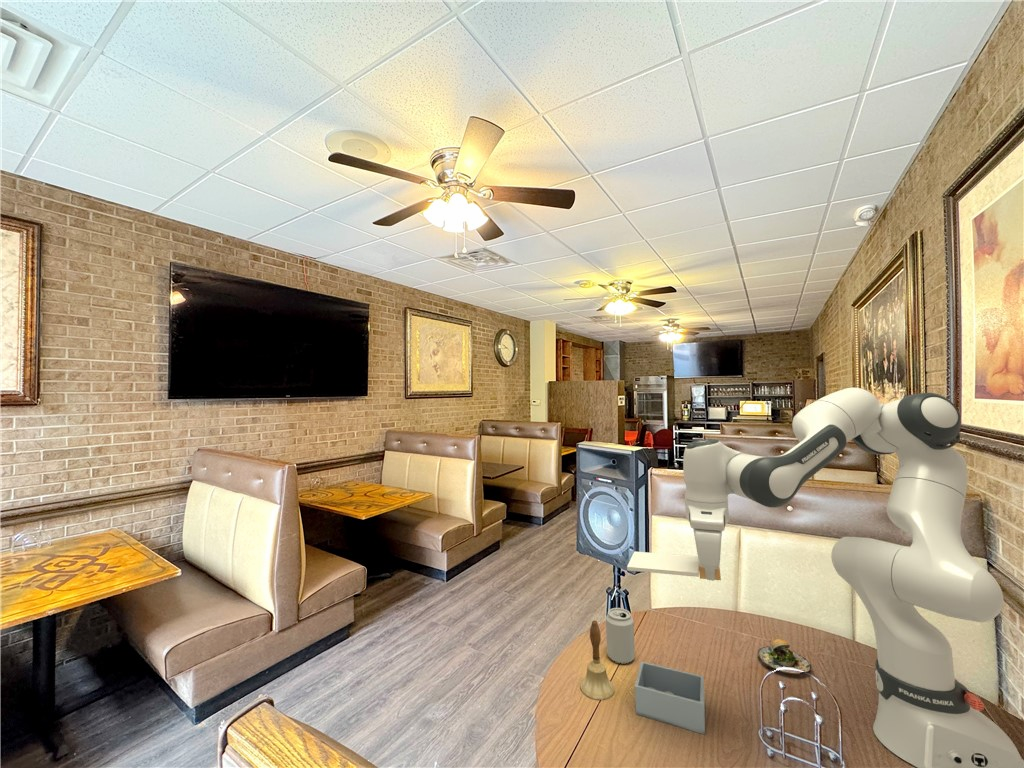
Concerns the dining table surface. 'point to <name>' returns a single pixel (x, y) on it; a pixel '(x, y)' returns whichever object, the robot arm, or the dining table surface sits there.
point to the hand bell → (596, 671)
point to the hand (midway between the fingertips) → (710, 574)
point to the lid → (668, 564)
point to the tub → (671, 696)
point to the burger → (782, 657)
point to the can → (620, 635)
